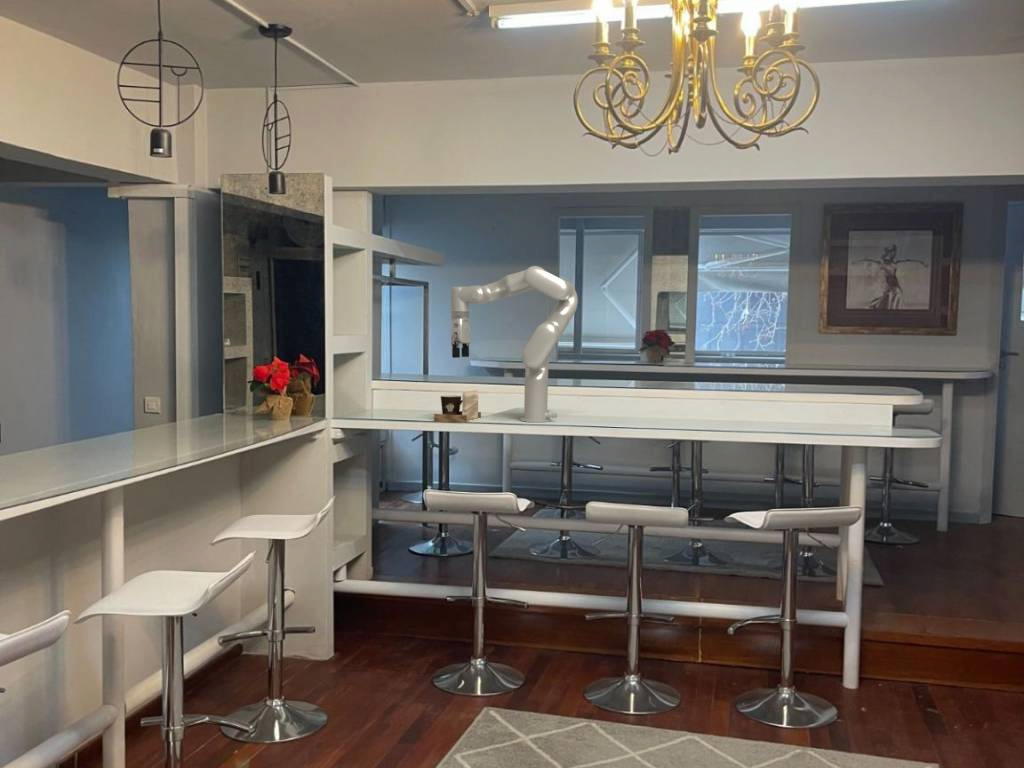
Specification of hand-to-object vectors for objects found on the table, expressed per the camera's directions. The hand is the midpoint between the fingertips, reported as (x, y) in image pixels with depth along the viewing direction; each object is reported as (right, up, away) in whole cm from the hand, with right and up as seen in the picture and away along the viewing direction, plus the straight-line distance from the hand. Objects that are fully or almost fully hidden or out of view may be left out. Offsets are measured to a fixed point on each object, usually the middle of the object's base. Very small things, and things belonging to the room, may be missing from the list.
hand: (460, 357), depth 400 cm
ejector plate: (+4, -27, -5) cm, 27 cm away
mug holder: (-1, -26, -3) cm, 26 cm away
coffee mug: (-3, -26, -2) cm, 27 cm away
